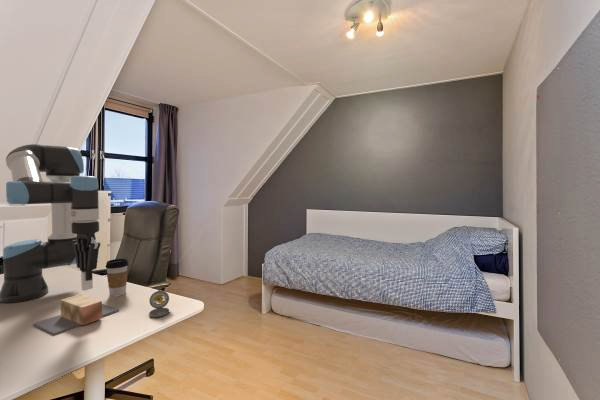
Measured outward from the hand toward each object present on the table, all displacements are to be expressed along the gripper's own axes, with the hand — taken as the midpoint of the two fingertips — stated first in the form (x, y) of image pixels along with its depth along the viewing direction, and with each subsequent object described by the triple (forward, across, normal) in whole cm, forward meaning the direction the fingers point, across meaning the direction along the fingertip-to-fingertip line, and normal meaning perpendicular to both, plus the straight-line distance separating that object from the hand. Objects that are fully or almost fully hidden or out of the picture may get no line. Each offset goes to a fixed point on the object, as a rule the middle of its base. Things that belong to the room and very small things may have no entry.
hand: (87, 289), depth 97 cm
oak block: (+8, +3, 0) cm, 8 cm away
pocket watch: (+12, +16, +16) cm, 25 cm away
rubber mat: (+11, -6, 0) cm, 13 cm away
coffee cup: (+12, -17, +20) cm, 29 cm away
